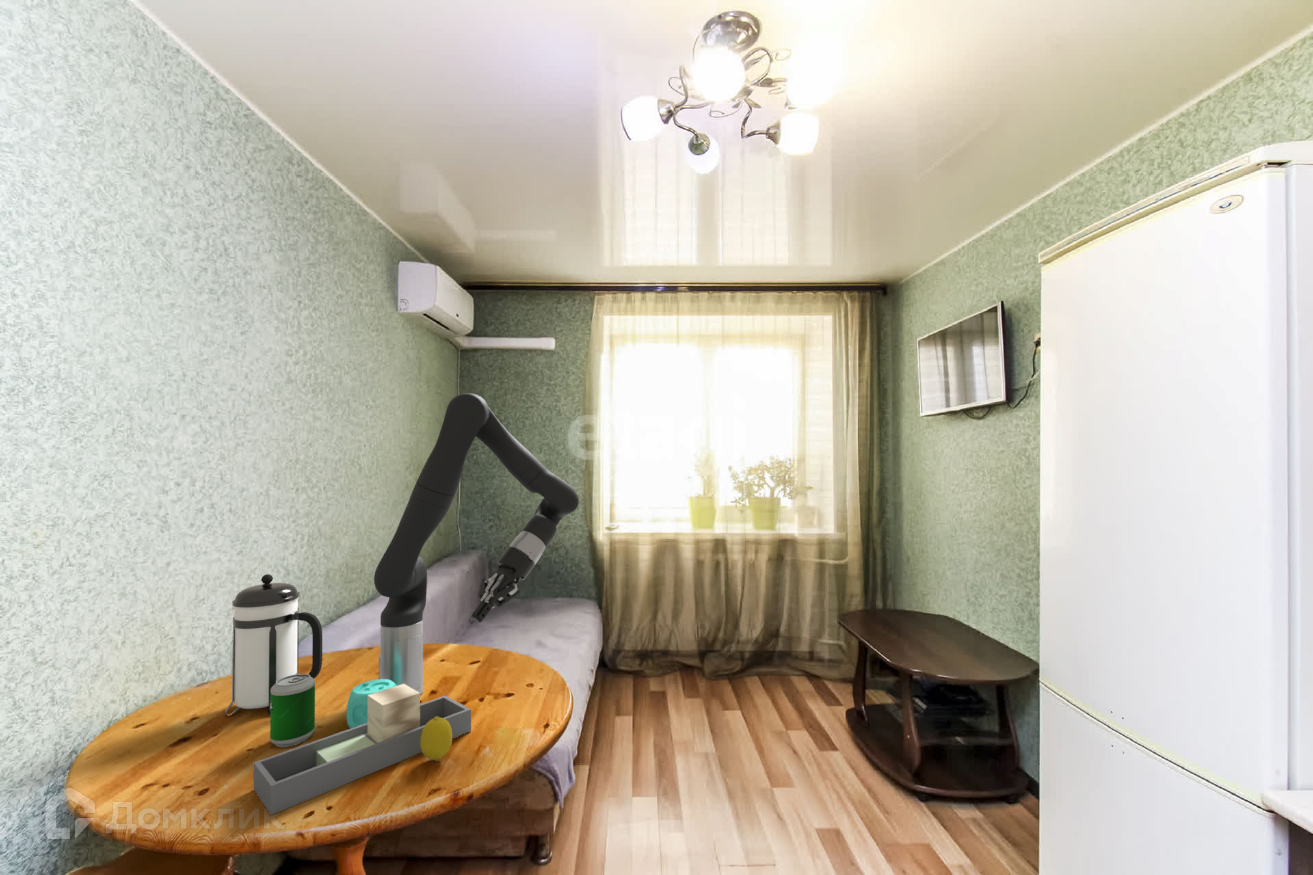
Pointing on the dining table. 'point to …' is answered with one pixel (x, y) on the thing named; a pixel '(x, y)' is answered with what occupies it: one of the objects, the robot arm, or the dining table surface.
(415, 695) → the ash block
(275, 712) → the soda can
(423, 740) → the lemon
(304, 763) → the tray
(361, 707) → the decorative dice
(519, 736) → the dining table surface
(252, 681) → the coffee press
